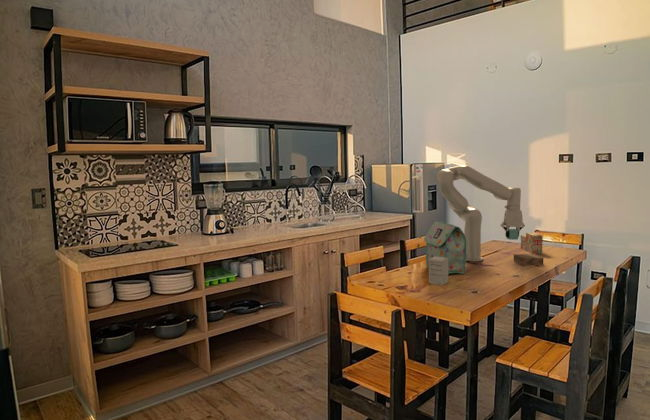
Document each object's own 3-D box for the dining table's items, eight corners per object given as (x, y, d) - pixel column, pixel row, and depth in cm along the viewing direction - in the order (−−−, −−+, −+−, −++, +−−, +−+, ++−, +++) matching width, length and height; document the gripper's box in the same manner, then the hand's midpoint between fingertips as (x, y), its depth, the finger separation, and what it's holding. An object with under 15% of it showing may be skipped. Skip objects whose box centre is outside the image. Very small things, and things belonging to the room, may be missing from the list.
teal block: (509, 239, 277) (510, 229, 277) (506, 238, 282) (506, 228, 282) (517, 239, 277) (518, 229, 277) (514, 238, 282) (514, 228, 282)
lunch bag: (422, 267, 263) (421, 221, 261) (447, 265, 267) (447, 219, 265) (441, 276, 241) (441, 226, 239) (469, 274, 245) (469, 224, 243)
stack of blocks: (520, 248, 313) (520, 230, 312) (529, 248, 312) (530, 230, 311) (532, 254, 292) (532, 235, 290) (542, 254, 291) (542, 235, 290)
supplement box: (435, 280, 234) (434, 256, 232) (448, 282, 229) (448, 257, 228) (428, 283, 228) (428, 258, 227) (442, 285, 223) (442, 260, 222)
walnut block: (522, 265, 261) (522, 258, 261) (513, 261, 273) (513, 254, 273) (543, 264, 261) (543, 257, 261) (533, 260, 273) (533, 253, 273)
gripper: (501, 208, 274) (500, 238, 276) (530, 208, 274) (528, 238, 276) (497, 207, 282) (495, 236, 284) (524, 207, 282) (523, 236, 284)
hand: (512, 237), depth 280 cm, fingers closed on teal block, 5 cm apart
